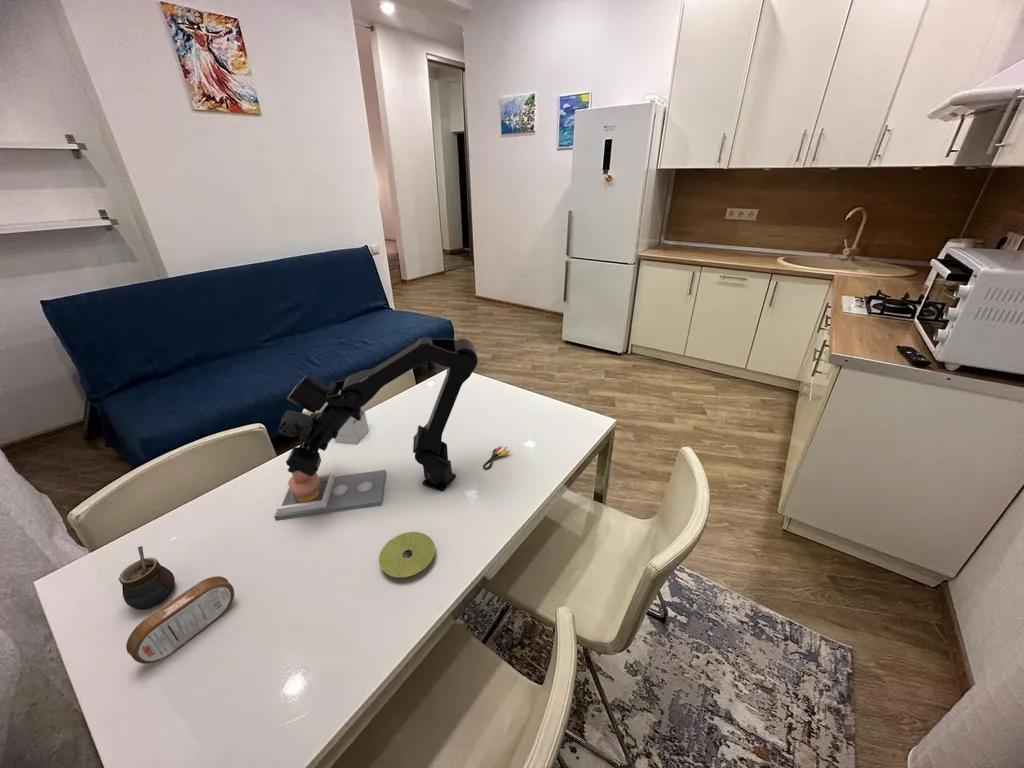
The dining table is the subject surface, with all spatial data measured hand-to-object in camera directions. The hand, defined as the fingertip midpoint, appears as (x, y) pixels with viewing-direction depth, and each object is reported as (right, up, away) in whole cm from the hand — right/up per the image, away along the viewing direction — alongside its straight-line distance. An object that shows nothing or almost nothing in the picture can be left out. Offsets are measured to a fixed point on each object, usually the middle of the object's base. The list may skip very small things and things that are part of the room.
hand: (292, 466), depth 96 cm
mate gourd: (-16, -22, -18) cm, 32 cm away
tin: (-4, -25, -24) cm, 35 cm away
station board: (+7, -8, +6) cm, 13 cm away
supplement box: (+3, +3, +29) cm, 29 cm away
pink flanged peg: (+2, -6, +3) cm, 7 cm away
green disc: (+30, -17, -11) cm, 37 cm away
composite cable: (+47, -2, +18) cm, 50 cm away
